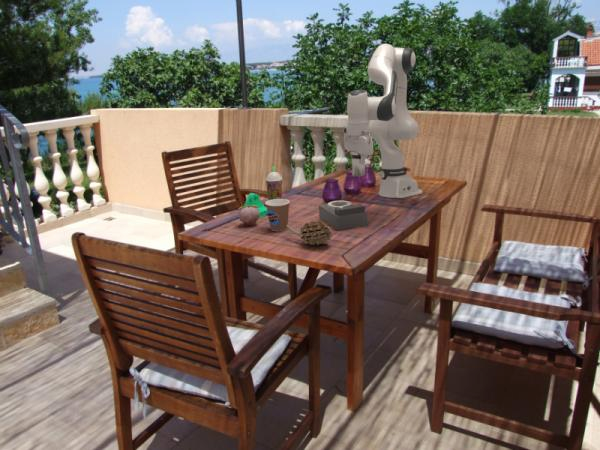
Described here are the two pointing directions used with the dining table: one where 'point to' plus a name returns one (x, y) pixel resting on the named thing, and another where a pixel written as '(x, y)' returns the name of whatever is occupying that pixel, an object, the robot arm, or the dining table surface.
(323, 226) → the pine cone
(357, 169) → the lens
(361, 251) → the dining table surface
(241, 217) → the decorative fruit
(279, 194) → the smoothie
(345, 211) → the camera body
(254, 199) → the camera mount
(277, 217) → the coffee cup
